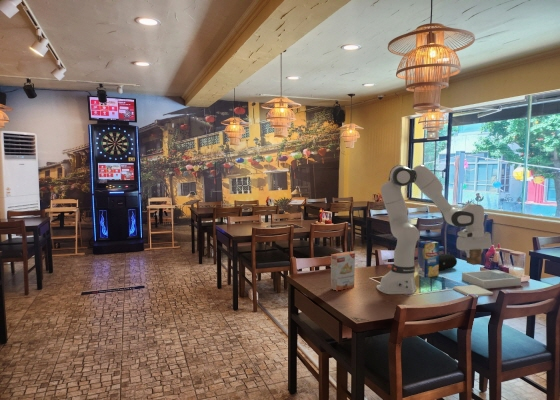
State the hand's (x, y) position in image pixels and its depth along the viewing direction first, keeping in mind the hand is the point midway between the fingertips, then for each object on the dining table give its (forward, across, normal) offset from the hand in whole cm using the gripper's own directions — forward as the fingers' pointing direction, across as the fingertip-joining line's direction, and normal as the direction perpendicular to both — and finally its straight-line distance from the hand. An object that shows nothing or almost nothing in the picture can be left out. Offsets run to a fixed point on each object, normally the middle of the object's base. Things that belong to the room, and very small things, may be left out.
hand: (473, 257), depth 199 cm
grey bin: (+20, -22, -11) cm, 32 cm away
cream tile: (+20, 0, 0) cm, 20 cm away
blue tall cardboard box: (+20, +4, -35) cm, 41 cm away
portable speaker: (+20, -11, -45) cm, 51 cm away
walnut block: (+4, 0, 0) cm, 4 cm away
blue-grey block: (+20, -27, -11) cm, 35 cm away
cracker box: (+20, +68, -24) cm, 75 cm away
